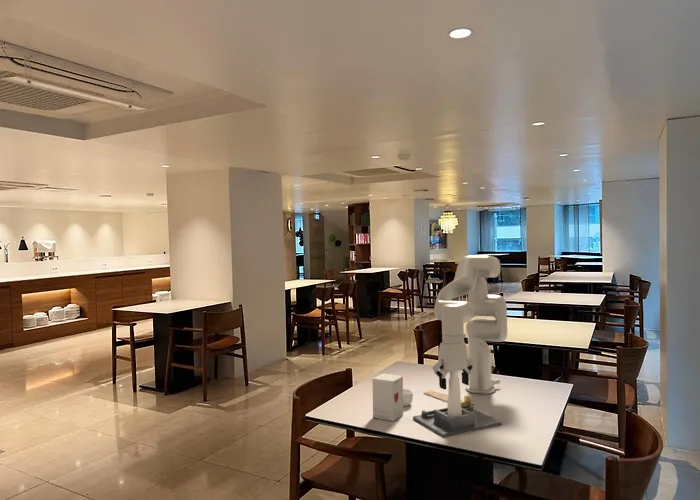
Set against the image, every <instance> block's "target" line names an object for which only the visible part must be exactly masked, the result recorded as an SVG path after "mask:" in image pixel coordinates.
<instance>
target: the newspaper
mask: <svg viewBox="0 0 700 500" xmlns="http://www.w3.org/2000/svg"><path fill="white" fill-rule="evenodd" d="M423 395H426V396H429V397H431V398H434V399H436V400H440V401H442V402H445V403H448V394H445V393H442V392H438V391H436V390H433V389H428V390H426V391H424V392H423ZM461 401H464V400H462V399H461ZM471 406H474V403H472V402H471Z"/></svg>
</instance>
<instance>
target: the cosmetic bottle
mask: <svg viewBox="0 0 700 500" xmlns="http://www.w3.org/2000/svg"><path fill="white" fill-rule="evenodd" d="M447 395H448V402H447V404H448V406H447V408H448V413H447V415H448V416H450V417H456V416H461V415H462V409H461V400H462V399H461V386H460V378H459V371H454V372H449V377H448V393H447Z"/></svg>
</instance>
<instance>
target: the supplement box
mask: <svg viewBox="0 0 700 500" xmlns="http://www.w3.org/2000/svg"><path fill="white" fill-rule="evenodd" d="M371 381H372V418H375V419H378V420H379V419H380V420H386V421H389V422H395V421H396V420H397V419H399V418H400V417H402V416H403V415H404V406H403V389H404V385H403V384H404V376H403V375H398V374H397V375H396V374H389V373H382V374H380V375H377V376H375V377H373V378H372V380H371Z"/></svg>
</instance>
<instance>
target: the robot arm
mask: <svg viewBox="0 0 700 500" xmlns="http://www.w3.org/2000/svg"><path fill="white" fill-rule="evenodd" d="M500 273H501V262H500V259H498V258H497V257H496V256H492V255H482V254H481V255H465V256H463V257H461V258H460V259H459V260H458V264H457V267H456V270H455V274H454V275H455V276H454V279H453V280H452V281H451V282H448V284H446V285H445V286H444V287H442V288H441V289H440V291H439V292H438V293H437V297H436V299H435V303H434V309H433V313H434V316H435V318H436V319H437V320H438V321H441V335H442V337H441V339H442V342H440V344H439V348H438V349H439V350H438V358H437V359H438V361H437V362H436V363H435V364H433V365H432V369H433V371H434V374H436V376H437V377H438V381H439V382H438V384H439V388H440V389H442V390H447V378H446V376H447V375H448V373H450V372H454V371H458V372H459V371H460V372H461V371H462V372H461V383H462V384H463V385H465V390H466V391H467V392H470V393H472V394H476V395H477V394H479V395H488V394H493V393H494V392H496V387H495V385H500V384H501V380H500V379H493V378H492V350H491V348H490V347H489V345H488V344H487V342H496V343H497V342H498V343H499V342H500V343H501V342H505V341H506V340H507V337H508V317H507V316H508V314H507V313H508V311H507V310H508V309H507V302H506V299H505V297H504V296H502V295H499V294H489V288H488V287H489V284H488V282H487V280H486V279H485V278H497V277H498V276H499V275H500ZM466 295H467V298H468V299H467V300H468V301H466V300H465V301H464V300H454V299H456V298H459V297H463V296H466ZM474 316H475V317H486V318H473V317H474ZM487 317H491V318H492V317H493V318H492V319H488V318H487ZM464 323H466V325H465V331H466V334H465V333H464V332H465V331H464ZM466 337H467V343H468V344H467V345H468V350H467V346H466V342H465V340H464V339H465V338H466Z"/></svg>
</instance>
